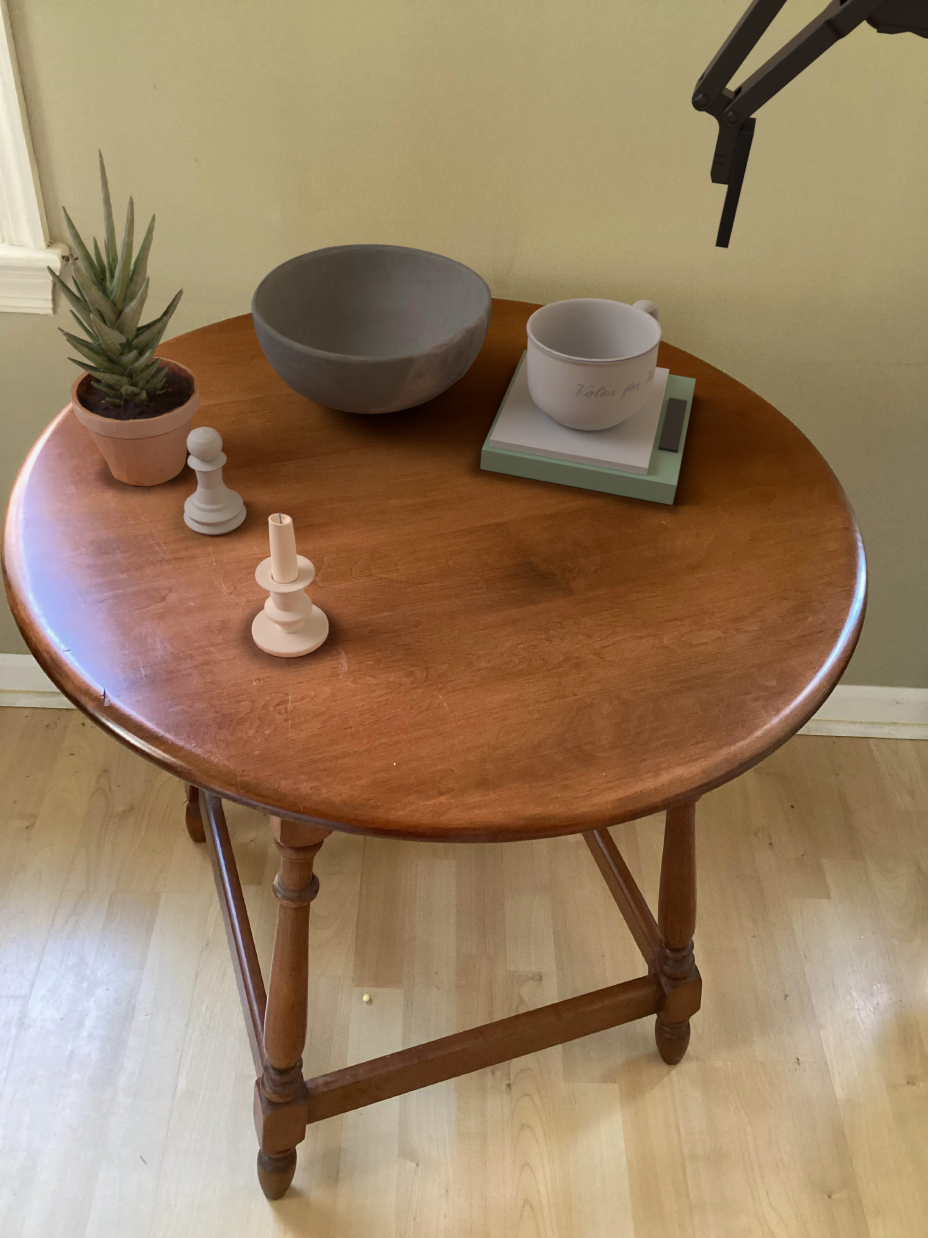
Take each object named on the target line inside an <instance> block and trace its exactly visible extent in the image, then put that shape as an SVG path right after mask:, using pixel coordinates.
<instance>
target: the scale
mask: <svg viewBox="0 0 928 1238" xmlns="http://www.w3.org/2000/svg"><path fill="white" fill-rule="evenodd" d="M696 380H697V379H696V378H694V377H688V376H683V375H682V376H681V375H676V374H670V368H664V367H658V366H656V369H655V375H654V380H653V384H652V389H651V392H650V395H649V397H648V399H647V401H646V403H645V405H644V406H643V407H642V408H641V409H640V410H639V411H638V412H637V413H636V414H634V415H633V416H632V417H630V418H628V419H626V420H624V421H622V422H621V423H619V424H617V425H615V426H613V427H610V428H606V429H601V430H579V429H574V428H570V427H567V426H564V425H562V424H560V423H558V422H556V421H555V420H553V419H552V418H551V417H550V416H549V415H547V414H546V413H545V412H543V411H542V410H541V409H540V408H539V407H538V406H537V405H536V403H535V402H534V401H533V399H532V397H531V395H530V391H529V388H528V381H527V349H524V350H523V352H522V354H521V357H520V359H519V361H518V364H517V366H516V369H515V371H514V373H513V374H512V378H511V380H510V383H509V385H508V387H507V389H506V391H505V395H504V396H503V398H502V401H501V404H500V406H499V408H498V410H497V413H496V416H495V417H494V420H493V422H492V424H491V427H490V429H489V431H488V434H487V436H486V438H485V440H484V443H483V446H482V447H481V455H480V470H484V471H488V472H495V473H500V474H504V475H510V476H515V477H521V478H525V479H531V480H535V481H541V482H547V483H553V484H557V485H563V486H569V487H572V488H573V487H574V488H579V489H585V490H590V491H597V492H600V493H606V494H611V495H617V496H620V497H621V496H623V497H628V498H632V499H638V500H642V501H649V502H652V503H653V502H654V503H659V504H664V505H670V506H673V505H674V504H673V503H674V499H675V495H676V490H677V488H678V487H677V486H678V482H679V475H680V471H681V470H680V469H681V464H682V458H683V455H684V454H683V452H684V447H685V442H686V437H687V431H688V426H689V420H690V415H691V409H692V405H693V404H692V403H693V397H694V393H695V386H696V382H697V381H696Z"/></svg>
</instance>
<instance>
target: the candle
mask: <svg viewBox="0 0 928 1238" xmlns="http://www.w3.org/2000/svg"><path fill="white" fill-rule="evenodd" d="M267 520H268V536H269V537H268V539H269V548H270V549H269V551H270V556H268V557H267V558H264V560H262V561H261V562H260V563H259V564H258V565H257V567H256V569H255V574H254V578H255V581H256V583H257V584H258V585H259V587H261V588H263V589H264V590H266V591H268V592H269V594H270V595H269V597H267V599H266V600H265V602H264V607H263V609H262V610H261V611H259V613H257V615H256V616H255V617H254V619H253V622H252V625H251V634H252V635H251V636H252V638H253V642H254V643H255V645H256V646H257V647H258V648H259V649H261V650H262V651H263V652H265V653H267V654H270V655H272V656H275V657H280V658H297V657H302V656H305V655H307V654H309V653H312V652H314V651H315V650H316V649H318V648H320V647H321V646H322V644H324V642H325V641H326V640H327V638H328V635H329V620H328V617H327V615H326V614H325V612H324V611H323V610H322V609H321V608H319V607H318V606H317V605H315V604H313V601H312V599H311V597H310V596H309V595H308V594H306V593H305V588H307V587H308V586H309V585H310V584H311V583H312V582H313V580H314V578H315V575H316V569H315V566H314V563H312V562H311V560H310V559H308V558H307V557H305V556H303V555H300V554H298V553H297V545H296V538H295V530H294V523H293V519H292V517H291V516H290V515H288V514H285V513H281V511H278V513H273V514H271V515H269V517H268V519H267Z"/></svg>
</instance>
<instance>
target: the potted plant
mask: <svg viewBox="0 0 928 1238" xmlns="http://www.w3.org/2000/svg"><path fill="white" fill-rule="evenodd" d="M98 164H99V165H98V166H99V174H100V186H101V187H100V189H101V201H102V202H101V203H102V211H103V223H104V233H105V236H104V237H103V243H104V244H103V245H104V259H103V256H102V253H101V252H102V251H101V249H100V247H99V244H98V240H97V238H96V235H92V237H91V238H92V247H93V249H92V250H93V257H92V255H91V253H90V252H89V250H88V247H87V246H86V244H85V243H84V241H83V239H82V238H81V235H80V233H79V231H78V229H77V228H76V225H75V224H74V222H73V220H72V219H71V217H70V215H69V213H68V211H67V210H66V208H65V206H64V205H61V209H62V213H63V219H64V223H65V226H66V229H67V232H68V234H69V237H70V239H71V243H72V245H73V248H74V251H75V253H76V256H77V259H78V261H79V263H80V265H81V267H80V266H79V264H78V263H77V261H76V260H75V259H74V258H73V255H71V254H68V255H67V257H68V259H69V264H70V269H71V271H72V274H73V275H72V274H70V278H71V281H72V284H73V287H74V290H75V292H76V293H75V292H74V291H73V290H72V289H71V288H70V287H69V286H68V285H67V284H66V283H65V282H64V280H62V278H60V276H59V275H58V274H57V273H56V272H55V271H54V270H53V269H52V268H51V266H50V265H47V266H46V269H47V271H48V273H49V275H50V276H51V278H52V280H53V281H54V282H55V284H56V286H57V287H58V289H59V290H60V291H61V293H62V294H63V296H64V297H65V298H66V300H67V301H68V302H69V304H70V305H71V307H73V309H74V310H75V311H76V313H77V314H78V315H79V316H80V317H79V316H78V315H77V314H76V313H75V312H74V311H73V310H72V309H69V310H68V311H69V313H70V314H71V316H72V318H73V320H74V321H75V322H76V324H77V325H78V326H79V327H80V328H81V330H82V331H83V332H84V333H85V335H86V336H87V337H88V338H89V339H90V341H89V340H86V339H83V338H80V337H79V336H76V335H75V334H72V333H70V332H68V331H66V330H64V329H63V328H61V327H60V326H58V327H57V330H58V331H59V332H60V333H61V335H63V337H65V341H66V342H67V343H68V344H69V345H71V347H72V348H74V349H75V350H76V351H77V352H78V353H79V354H80V355H82V357H84V358H85V359H86V360H88V361H89V362H90V363H92V364H93V365H91V364H89V363H87V362H84V361H80V360H78V359H75V358H72V357H70V356H67V357H66V359H67V360H69V361H71V362H72V363H74V364H75V365H77V366H78V367H80V368H81V369H83V371H84V372H82V373H81V374H79V375H78V376H76V378H75V380H73V382H72V385H71V388H70V391H69V392H70V401H71V404H72V408H73V412H74V415H75V416H76V419H77V420H78V421H79V423H80V424H81V425H83V426H84V427H86V428H87V429H88V431H89V433H90V435H91V437H92V439H93V441H94V442H95V444H96V446H97V447H98V449H99V450H100V452H101V454H102V456H103V458H104V460H105V462H106V464H107V465H108V467H109V470H110V472H111V474H112V476H113V477H114V479H115V480H117V481H120V482H121V483H124V484H125V485H129V486H137V487H138V486H139V487H151V486H157V485H160V484H163V483H165V482H168V481H171V480H172V479H174V478H175V477H176V476H178V475H179V474H180V473H181V472H182V470H183V469H184V466H185V464H186V462H187V461H186V460H187V452H188V448H187V438H188V436H189V434H190V432H191V431H192V430H191V429H192V426H193V425H192V424H193V418H194V416H195V415H196V413H197V411H198V409H199V407H200V387H199V385H200V384H199V380H198V379H199V378H198V377H197V376H196V375H195V373H194V372H193V371H192V369H190V368H188V367H187V366H185V365H184V364H182V363H180V362H178V361H175V360H172V359H169V358H164V357H160V356H155V353H156V350H157V348H158V346H159V344H160V342H161V340H162V338H163V336H164V334H165V331H166V329H167V326H168V324H169V321H170V320H171V318H172V316H173V315H174V313H175V311H176V310H177V307H178V306H179V303H180V302H181V299H182V297H183V294H184V289H183V287H181V289H179V290H178V292H177V293H176V294H175V295H174V297H173V298H172V300H171V301H170V303H168V305H166V308H165V309H164V311H163V312H162V314H161V315H160V316H159V317H158V318H156V319H153V320H152V321H150V322H148V323H146V324H143V325H140V326H139V323H140V320H141V317H142V313H143V310H144V307H145V303H146V301H147V298H148V295H149V287H150V276H149V275H147V273H148V272H147V271H148V263H149V262H148V261H149V256H150V251H151V247H152V243H153V240H154V231H155V224H156V212H154V213H153V214H152V216H151V218H150V221H149V223H148V227H147V229H146V232H145V234H144V237H143V240H142V242H141V244H140V248H139V250H138V252H137V255H136V257H135V260H134V262H133V264H132V261H133V253H134V252H133V251H134V237H135V203H134V197H133V196H132V195H130V196H129V200H128V203H127V209H126V216H125V220H124V225H123V230H122V236H121V241H120V246H119V252H118V248H117V247H118V246H117V238H116V237H117V236H116V229H115V228H116V227H115V223H114V222H115V221H114V217H113V206H112V202H111V192H110V189H109V180H108V177H107V171H106V167H105V163H104V156H103V153H102V150H101V148H98ZM104 260H105V261H104Z"/></svg>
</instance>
